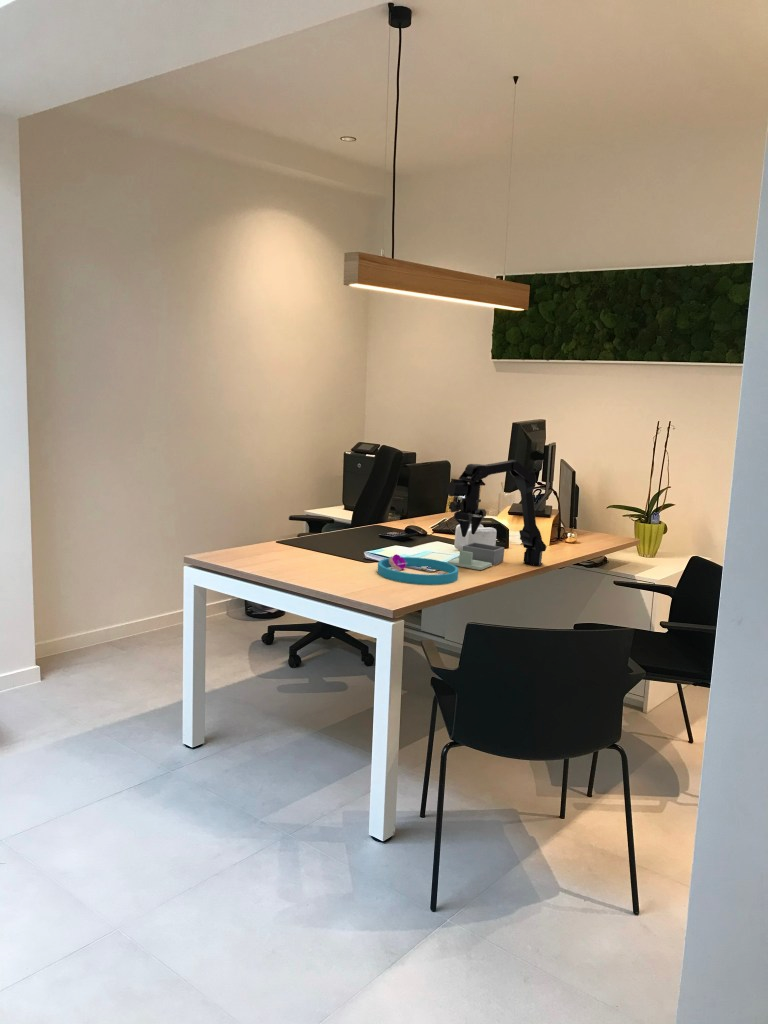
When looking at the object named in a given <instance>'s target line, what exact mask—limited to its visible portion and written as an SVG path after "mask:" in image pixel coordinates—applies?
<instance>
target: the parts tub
mask: <svg viewBox="0 0 768 1024" xmlns="http://www.w3.org/2000/svg"><path fill="white" fill-rule="evenodd" d="M462 551H468V552H473V558H472V560H478V561H483V562H489V563H492V566H496V565H499V564H501V563H503V562H504V556H505V547H503V546H498V545H495V546H492V545H486V544H480V543H474V542H473V543H470V544H467V545H464V546H463V550H462Z"/></svg>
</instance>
